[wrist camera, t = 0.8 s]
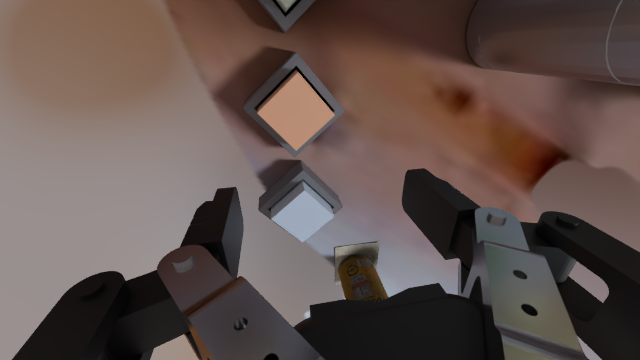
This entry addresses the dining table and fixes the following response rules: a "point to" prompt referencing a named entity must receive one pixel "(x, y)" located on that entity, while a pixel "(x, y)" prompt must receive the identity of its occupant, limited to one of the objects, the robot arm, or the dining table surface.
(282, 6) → the sage green button
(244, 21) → the dining table surface
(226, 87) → the dining table surface
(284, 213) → the dusty blue button
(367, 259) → the condiment
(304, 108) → the terracotta button
